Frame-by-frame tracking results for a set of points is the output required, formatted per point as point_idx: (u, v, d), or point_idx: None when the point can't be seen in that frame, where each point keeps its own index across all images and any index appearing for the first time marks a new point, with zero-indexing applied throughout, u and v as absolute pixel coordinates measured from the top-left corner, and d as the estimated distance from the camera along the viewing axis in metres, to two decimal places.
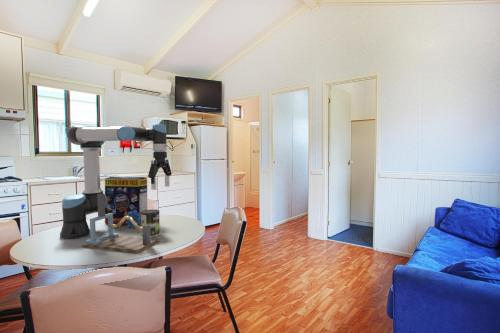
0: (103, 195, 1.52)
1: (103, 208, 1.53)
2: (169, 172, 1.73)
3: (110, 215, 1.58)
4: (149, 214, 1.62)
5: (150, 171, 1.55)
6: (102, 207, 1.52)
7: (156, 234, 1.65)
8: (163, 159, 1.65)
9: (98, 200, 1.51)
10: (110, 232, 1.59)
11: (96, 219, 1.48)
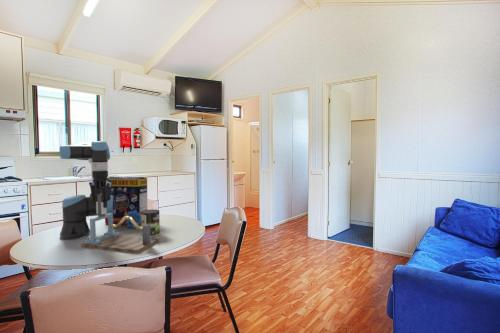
0: None
1: None
2: None
3: (110, 215, 1.58)
4: (149, 214, 1.62)
5: None
6: None
7: (156, 234, 1.65)
8: (101, 179, 1.50)
9: (98, 200, 1.51)
10: (110, 232, 1.59)
11: (96, 219, 1.48)
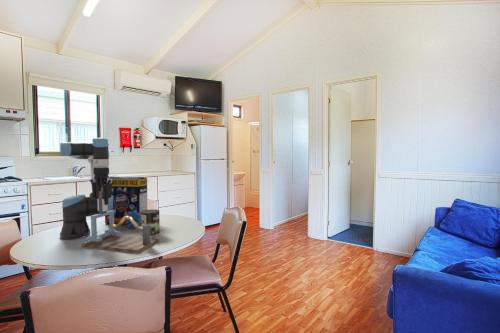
0: None
1: None
2: None
3: (111, 212, 1.57)
4: (149, 214, 1.62)
5: None
6: None
7: (156, 234, 1.65)
8: (102, 176, 1.50)
9: (99, 197, 1.51)
10: (111, 229, 1.58)
11: (97, 216, 1.48)
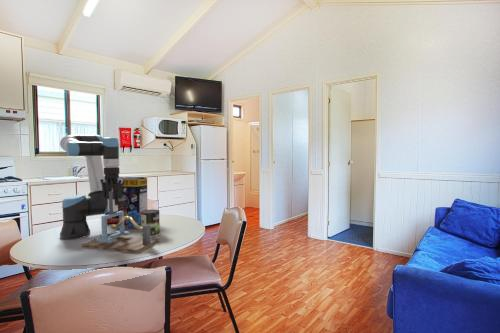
0: None
1: None
2: None
3: (121, 213, 1.55)
4: (149, 214, 1.62)
5: None
6: None
7: (156, 234, 1.65)
8: (113, 176, 1.48)
9: (109, 197, 1.49)
10: (121, 230, 1.56)
11: (108, 216, 1.46)
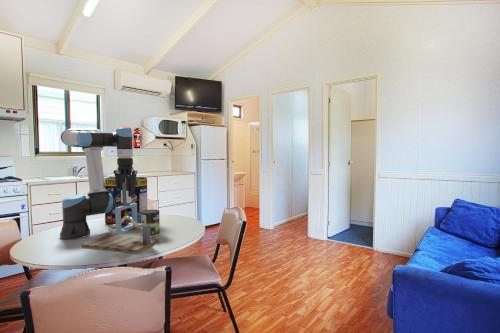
0: None
1: None
2: None
3: (134, 205, 1.53)
4: (149, 214, 1.62)
5: None
6: None
7: (156, 234, 1.65)
8: (126, 166, 1.46)
9: (123, 188, 1.47)
10: None
11: (121, 208, 1.44)
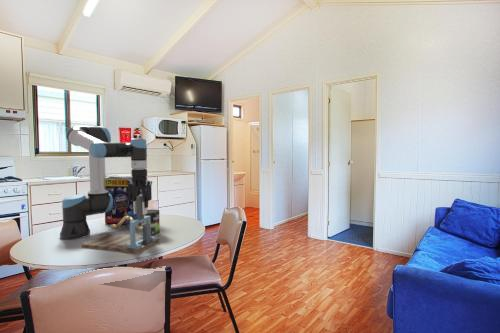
0: (142, 197, 1.46)
1: (142, 211, 1.46)
2: None
3: (148, 218, 1.51)
4: (149, 214, 1.62)
5: None
6: (141, 209, 1.45)
7: (156, 234, 1.65)
8: (141, 178, 1.44)
9: (137, 202, 1.45)
10: None
11: (136, 222, 1.42)
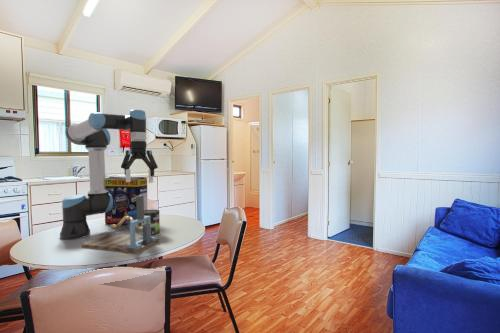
0: (142, 197, 1.46)
1: (142, 211, 1.46)
2: None
3: (148, 218, 1.51)
4: (149, 214, 1.62)
5: None
6: (141, 209, 1.45)
7: (156, 234, 1.65)
8: (140, 150, 1.43)
9: (137, 202, 1.45)
10: None
11: (136, 222, 1.42)
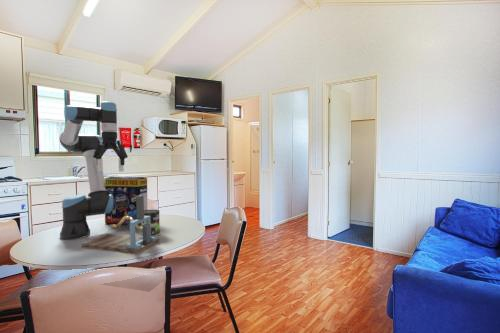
0: (142, 197, 1.46)
1: (142, 211, 1.46)
2: None
3: (148, 218, 1.51)
4: (149, 214, 1.62)
5: None
6: (141, 209, 1.45)
7: (156, 234, 1.65)
8: (110, 140, 1.50)
9: (137, 202, 1.45)
10: None
11: (136, 222, 1.42)
